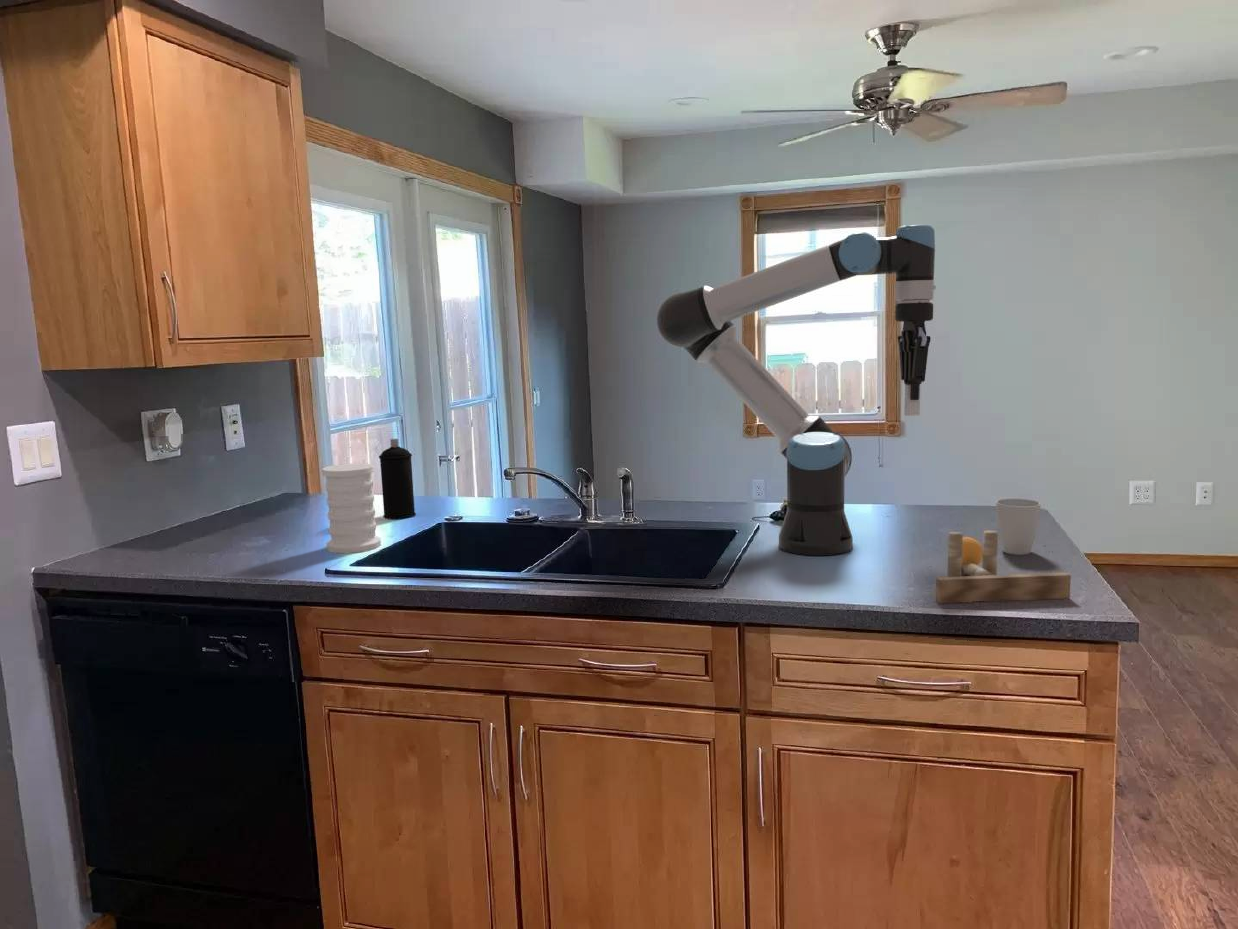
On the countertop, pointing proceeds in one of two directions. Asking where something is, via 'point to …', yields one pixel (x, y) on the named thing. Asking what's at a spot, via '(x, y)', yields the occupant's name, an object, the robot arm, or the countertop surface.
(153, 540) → the countertop surface
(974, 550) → the ball
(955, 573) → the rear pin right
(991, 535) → the rear pin left
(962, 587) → the back wall
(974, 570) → the front pin
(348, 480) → the decorative container
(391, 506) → the aerosol can
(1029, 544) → the cup
